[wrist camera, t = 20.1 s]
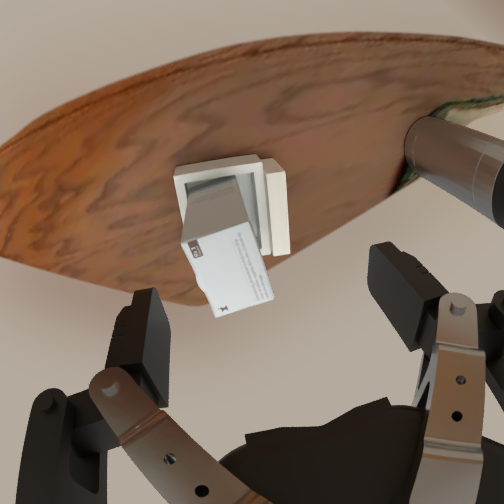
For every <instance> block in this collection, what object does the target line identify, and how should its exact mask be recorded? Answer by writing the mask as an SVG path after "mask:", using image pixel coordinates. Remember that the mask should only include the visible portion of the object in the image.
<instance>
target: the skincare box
mask: <svg viewBox="0 0 504 504" xmlns="http://www.w3.org/2000/svg"><path fill="white" fill-rule="evenodd" d="M181 246H182V248H183V250H184V252H185V254H186V256H187V258H188V260H189V262H190V264H191V266H192V268H193V270H194V273H195V275H196V280H197V283H198V285H199V287H200V289H201V290H202V291H203V292H204V293H205V295H206V297H207V299H208V301H209V303H210V306H211V308H212V311H213V314H214V316H215V317H216V318H217V317H220V316H223V315H226V314H229V313H232V312H235V311H239V310H241V309H244V308H247V307H251V306H254V305H257V304H260V303H264V302H267V301H270V300H273V299H274V294H273V290H272V287H271V283H270V280H269V277H268V273H267V270H266V267H265V264H264V261H263V258H262V255H261V252H260V249H259V246H258V243H257V240H256V236H255V233H254V229H253V226H252V224H251V222H250V219H249V216H248V213H247V210H246V207H245V204H244V201H243V198H242V195H241V192H240V189H239V186H238V182H237V179H236V175H231V176H225V177H220V178H217V179H214V180H212V181H209V182H206V183H203V184H200V185H197V186H194V187H192V188H190V189H189V195H188V201H187V207H186V213H185V219H184V225H183V231H182V238H181Z"/></svg>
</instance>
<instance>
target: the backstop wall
mask: <svg viewBox="0 0 504 504" xmlns="http://www.w3.org/2000/svg"><path fill="white" fill-rule="evenodd" d="M261 161H262V165H263V175H264V186H265V196H266V207H267V218H268V229H269V240H270V249H271V251H272V254H273V256H279V255H285V254H290V239H289V221H288V205H287V190H286V175H285V171H284V169H283V168H282V167H281V166H280V165H279V164H278V163H277V162H276V161H275V160H274V159H273V158H268V159H261Z"/></svg>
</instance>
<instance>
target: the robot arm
mask: <svg viewBox="0 0 504 504" xmlns="http://www.w3.org/2000/svg"><path fill="white" fill-rule="evenodd" d="M404 148H405V157H406V161H407V163H408V165H409V167H410V168H411V170H412V171H413V172H415V173H416V174H418V175H419V176H421V177H423V178H425V179H426V180H428V181H430V182H431V183H433V184H435V185H436V186H438V187H440V188H441V189H443V190H445V191H446V192H448V193H450V194H451V195H453V196H455V197H456V198H458V199H459V200H461V201H463V202H464V203H466V204H467V205H469V206H470V207H472V208H473V209H475V210H476V211H478V212H480V213H481V214H482V215H484V216H486V217H487V218H488V219H490V220H491V221H493V222H494V223H496V224H497V225H498V226H500V227H502V228H503V229H504V141H503V140H500V139H498V138H495V137H493V136H490V135H487V134H485V133H482V132H479V131H476V130H474V129H470V128H468V127H465V126H462V125H459V124H455V123H453V122H449V121H446V120H443V119H439V118H436V117H432V116H427V117H423V118H421V119H419V120H417V121H416V122H415V123H414V124H413V125H412V127H411V128H410V130H409V132H408V134H407V137H406V140H405V147H404ZM367 281H368V288H369V291H370V293H371V295H372V296H373V298H374V299H375V300H376V302H377V303H378V305H379V306H380V308H381V309H382V310H383V312H384V313H385V315H386V316H387V318H388V319H389V321H390V322H391V324H392V325H393V327H394V328H395V330H396V331H397V332H398V334H399V336H400V337H401V339H402V340H403V341H404V343H405V345H406V346H407V347H408V349H409V351H410V352H412V351H414V350H417V349H420V348H422V350H423V351H424V352H423V355H422V359H421V365H420V370H419V376H418V381H417V386H416V391H415V395H414V399H413V403H412V405H411V406H406V405H392V406H391V404H390V402H389V400H388V398H387V397H385V398H382V399H379V400H376V401H373V402H370V403H367V404H364V405H361V406H358V407H355V408H353V409H352V410H350V411H348V412H346V413H345V414H343V415H341V416H339V417H338V418H336V419H334V420H332V421H330V422H329V423H327V424H325V425H322V426H318V427H317V426H315V427H281V428H275V429H271V430H266V431H261V432H255V433H250V434H245V439H246V444H244V445H242V446H240V447H238V448H236V449H234V450H233V451H231V452H229V453H228V454H227V455H225V456H224V457H223V458H222V459H220V460H219V461H216V460H215V459H214V458H213V457H212V456H211V455H210V454H209V453H207V452H206V451H205V450H204V449H203V448H202V447H201V446H200V445H199V444H198V443H197V442H196V441H194V440H193V439H192V438H191V437H190V436H189V435H188V434H187V433H186V432H185V431H184V430H183V429H182V428H181V427H180V426H179V425H178V424H177V423H176V422H175V421H174V420H173V419H172V418H171V417H170V416H169V415H168V414H167V413H166V412H165V411H163V410H162V411H161V410H160V409H159V408H165V407H168V399H169V397H168V396H169V395H168V394H169V362H170V339H171V331H170V325H169V321H168V318H167V315H166V313H165V311H164V308H163V305H162V302H161V300H160V297H159V294H158V292H157V290H156V288H155V287H153V288H148V289H142V290H137V291H135V292H134V295H133V300H132V304H131V306H125V307H124V308H123V309H122V310H121V312H120V313H119V315H118V316H117V318H116V322H115V326H114V330H113V334H112V338H111V342H110V346H109V351H108V355H107V360H106V364H105V369H104V370H102V371H100V372H98V373H97V374H96V375H95V376H94V377H93V379H92V380H91V382H90V384H89V389H87V390H84V391H82V392H79V393H76V394H73V395H71V396H68V397H67V396H66V395H65V394H64V393H63V391H61V390H59V389H56V388H51V389H47V390H45V391H43V392H42V393H40V394H39V395H38V397H36V399H35V400H34V402H33V405H32V409H31V413H30V417H29V421H28V426H27V431H26V436H25V441H24V446H23V452H22V457H21V463H20V470H19V477H18V486H17V493H16V504H107V451H108V450H110V449H113V448H116V447H119V446H122V448H123V449H124V450H125V452H126V453H127V454H128V456H129V457H130V458H131V460H132V461H133V462H134V463H135V465H136V466H137V467H138V468H139V470H140V471H141V472H142V473H143V474H144V476H145V477H146V478H147V479H148V480H149V482H150V483H151V484H152V485H153V486H154V488H155V489H156V490H157V491H158V492H159V493H160V494H161V496H162V497H163V498H164V499H165V500H166V501H167V502H168V503H169V504H504V445H503V444H500V443H498V442H495V441H493V440H491V439H488V438H486V437H484V436H482V428H483V417H484V402H485V381H486V383H487V384H488V386H489V387H490V389H491V391H492V393H493V394H494V396H495V398H496V399H497V401H498V403H499V404H500V406H501V408H502V410H503V411H504V290H501V291H498V292H496V293H495V294H494V296H493V299H492V302H491V303H485V304H475V303H474V302H473V301H472V300H471V299H470V298H469V297H467V296H465V295H463V294H459V293H449V292H448V291H447V290H446V289H445V288H444V287H443V286H442V285H441V283H440V282H439V281H438V280H437V279H436V278H435V277H434V276H433V275H432V274H431V273H429V271H428V270H427V269H426V268H425V267H424V266H422V264H421V263H420V262H419V261H418V260H417V259H416V258H415V257H414V256H412V255H410V254H408V253H406V252H401V251H400V250H398V248H396V247H395V245H394V244H393V243H391V242H384V243H380V244H375V245H372V246H371V247H370V251H369V265H368V276H367Z"/></svg>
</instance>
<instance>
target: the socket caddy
mask: <svg viewBox="0 0 504 504" xmlns="http://www.w3.org/2000/svg"><path fill="white" fill-rule="evenodd" d="M231 175H236V179H237V182H238V186H239V189H240V192H241V195H242V198H243V201H244V204H245V207H246V210H247V213H248V216H249V219H250V222H251V224H252V226H253V229H254V233H255V236H256V240H257V243H258V246H259V249H260V252H261V255H262V256H263V255H269V254H271V251H270V240H269V229H268V218H267V207H266V196H265V186H264V175H263V165H262V161H261V160H260V159H259V157H258V156H257V155H256V154H252V155H245V156H238V157H231V158H224V159H218V160H212V161H206V162H200V163H194V164H189V165H183V166H178V167H175V171H174V175H173V178H174V183H175V188H176V193H177V197H178V202H179V207H180V212H181V216H182V221H183V225H184V219H185V213H186V207H187V201H188V195H189V189H190V188H192V187H194V186H197V185H200V184H203V183H206V182H209V181H212V180H214V179H217V178H220V177H225V176H231Z"/></svg>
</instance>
